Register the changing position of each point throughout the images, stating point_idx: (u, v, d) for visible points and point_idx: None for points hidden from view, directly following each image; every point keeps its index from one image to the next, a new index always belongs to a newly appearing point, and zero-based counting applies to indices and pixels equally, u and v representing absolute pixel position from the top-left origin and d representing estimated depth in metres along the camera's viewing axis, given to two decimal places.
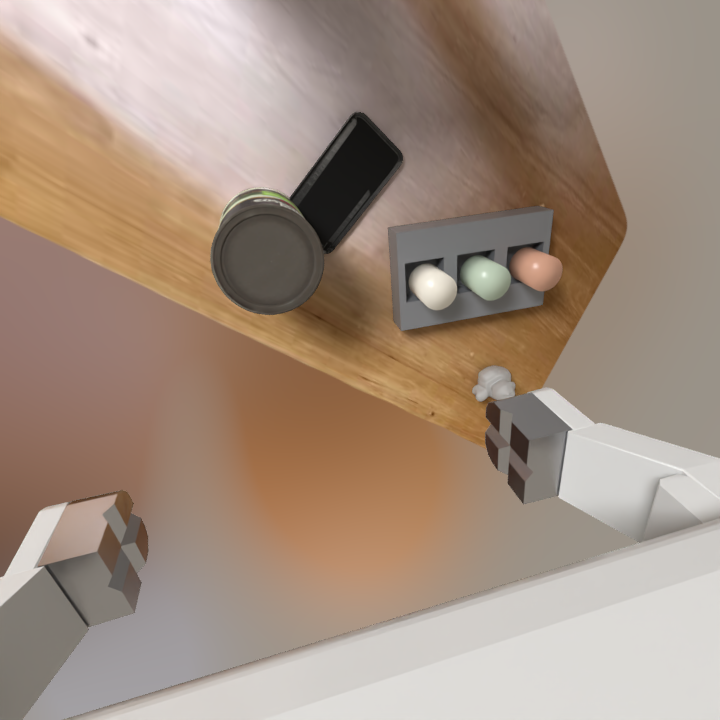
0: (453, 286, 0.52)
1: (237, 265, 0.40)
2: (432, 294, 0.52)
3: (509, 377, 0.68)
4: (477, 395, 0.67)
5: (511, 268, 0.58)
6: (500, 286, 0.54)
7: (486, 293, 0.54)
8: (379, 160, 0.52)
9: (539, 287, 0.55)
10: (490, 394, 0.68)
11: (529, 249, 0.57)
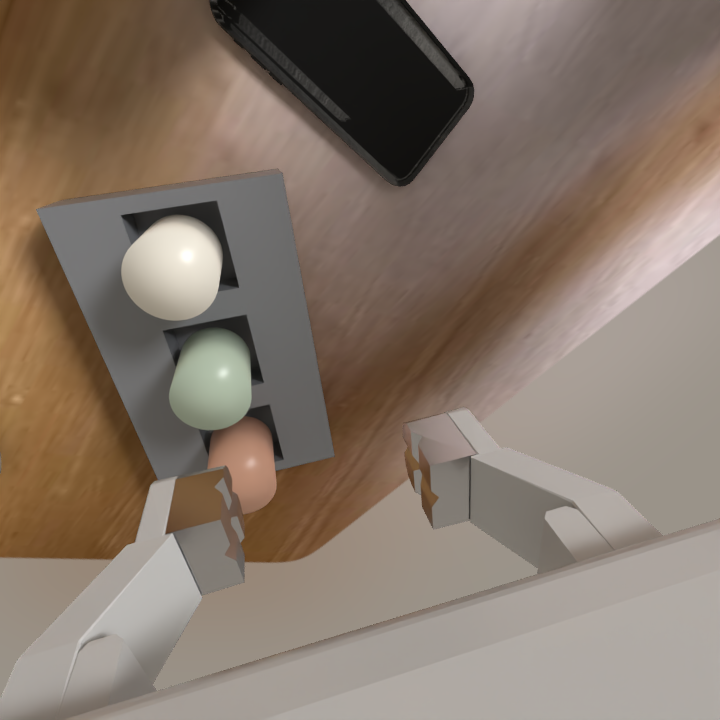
0: (192, 309, 0.22)
1: None
2: (163, 260, 0.21)
3: None
4: None
5: None
6: (204, 413, 0.25)
7: (184, 389, 0.24)
8: (398, 138, 0.28)
9: None
10: None
11: (271, 441, 0.32)
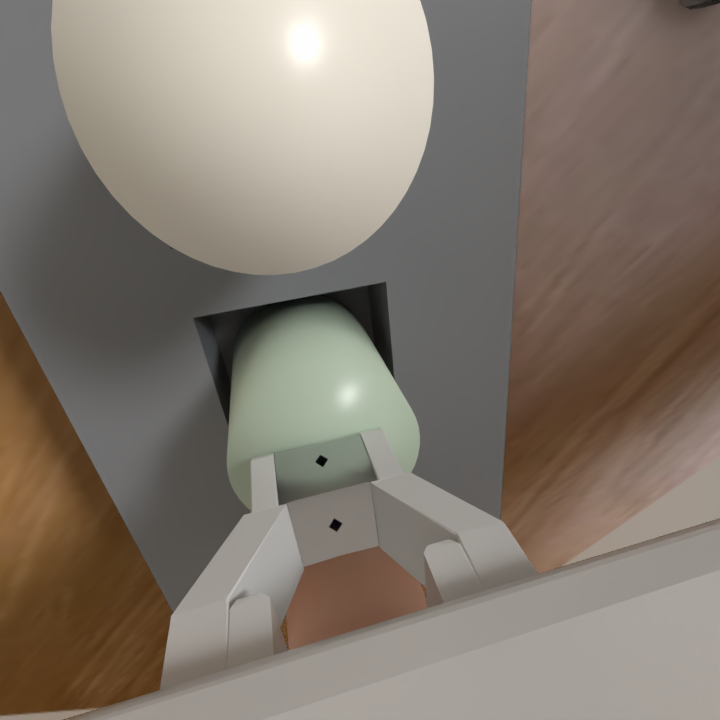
0: (323, 234, 0.06)
1: None
2: (238, 1, 0.05)
3: None
4: None
5: None
6: None
7: (266, 440, 0.09)
8: None
9: None
10: None
11: None
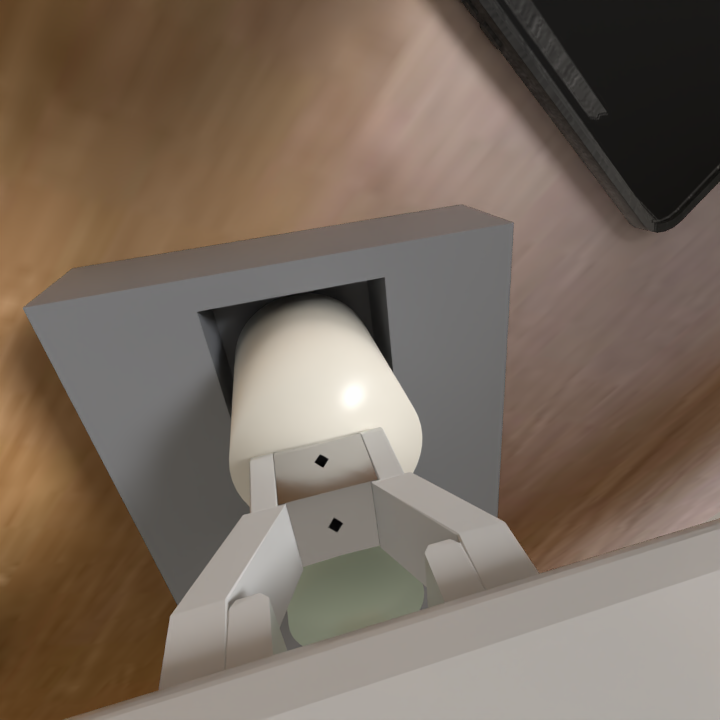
0: None
1: None
2: (321, 425, 0.10)
3: None
4: None
5: None
6: (344, 631, 0.14)
7: (316, 604, 0.13)
8: (674, 150, 0.16)
9: None
10: None
11: None
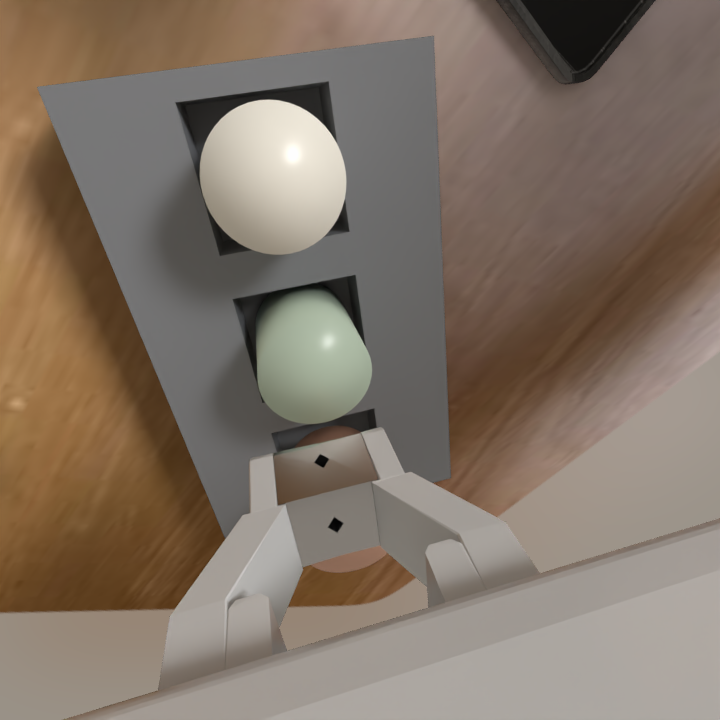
0: (302, 236, 0.14)
1: None
2: (266, 150, 0.13)
3: None
4: None
5: (324, 434, 0.21)
6: (305, 398, 0.17)
7: (280, 363, 0.16)
8: (584, 2, 0.19)
9: None
10: None
11: None
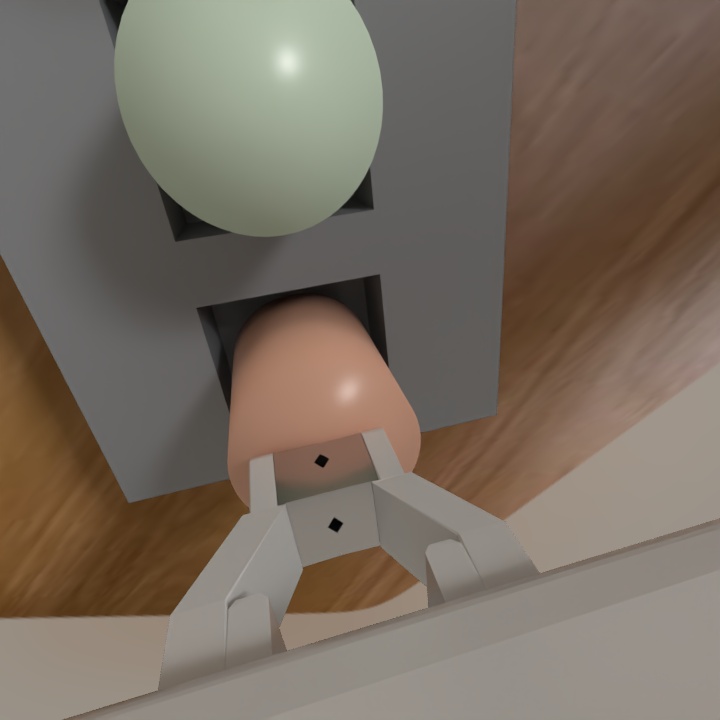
0: None
1: None
2: None
3: None
4: None
5: (289, 302, 0.13)
6: (236, 166, 0.08)
7: (168, 49, 0.07)
8: None
9: (250, 448, 0.09)
10: None
11: None
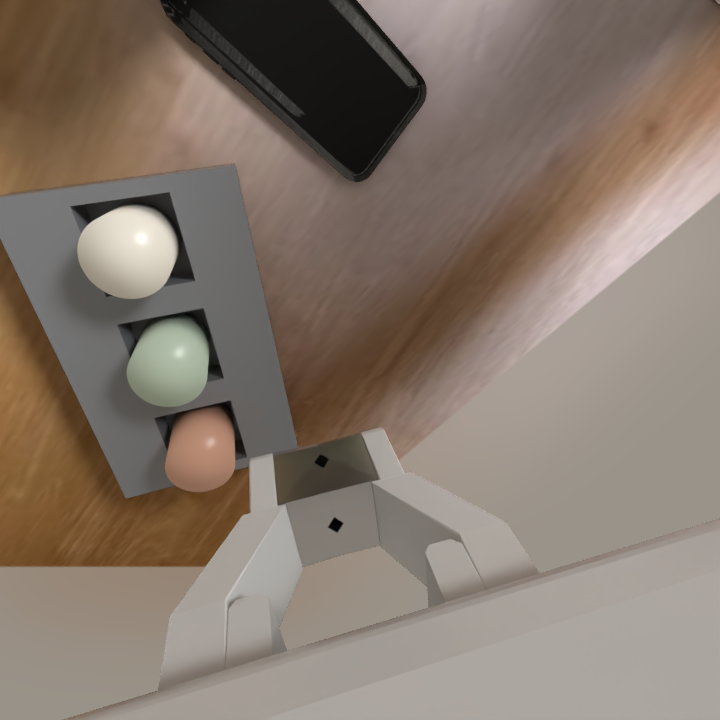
0: (146, 288, 0.24)
1: None
2: (118, 240, 0.22)
3: None
4: None
5: None
6: (162, 389, 0.26)
7: (141, 366, 0.25)
8: (353, 134, 0.29)
9: (172, 463, 0.29)
10: None
11: (233, 424, 0.33)
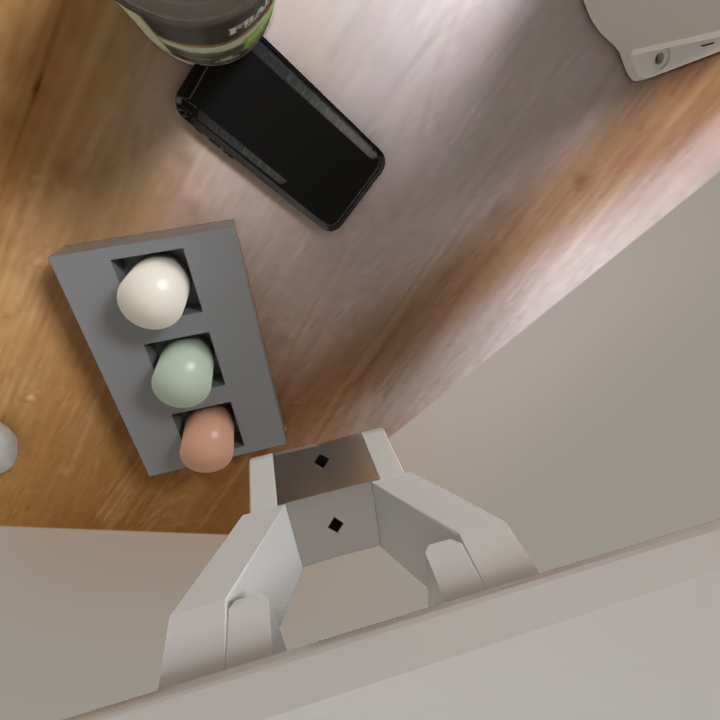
0: (166, 321, 0.32)
1: None
2: (145, 288, 0.31)
3: None
4: None
5: None
6: (177, 395, 0.35)
7: (162, 377, 0.34)
8: (326, 195, 0.37)
9: (185, 450, 0.37)
10: None
11: (233, 420, 0.42)
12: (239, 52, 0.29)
